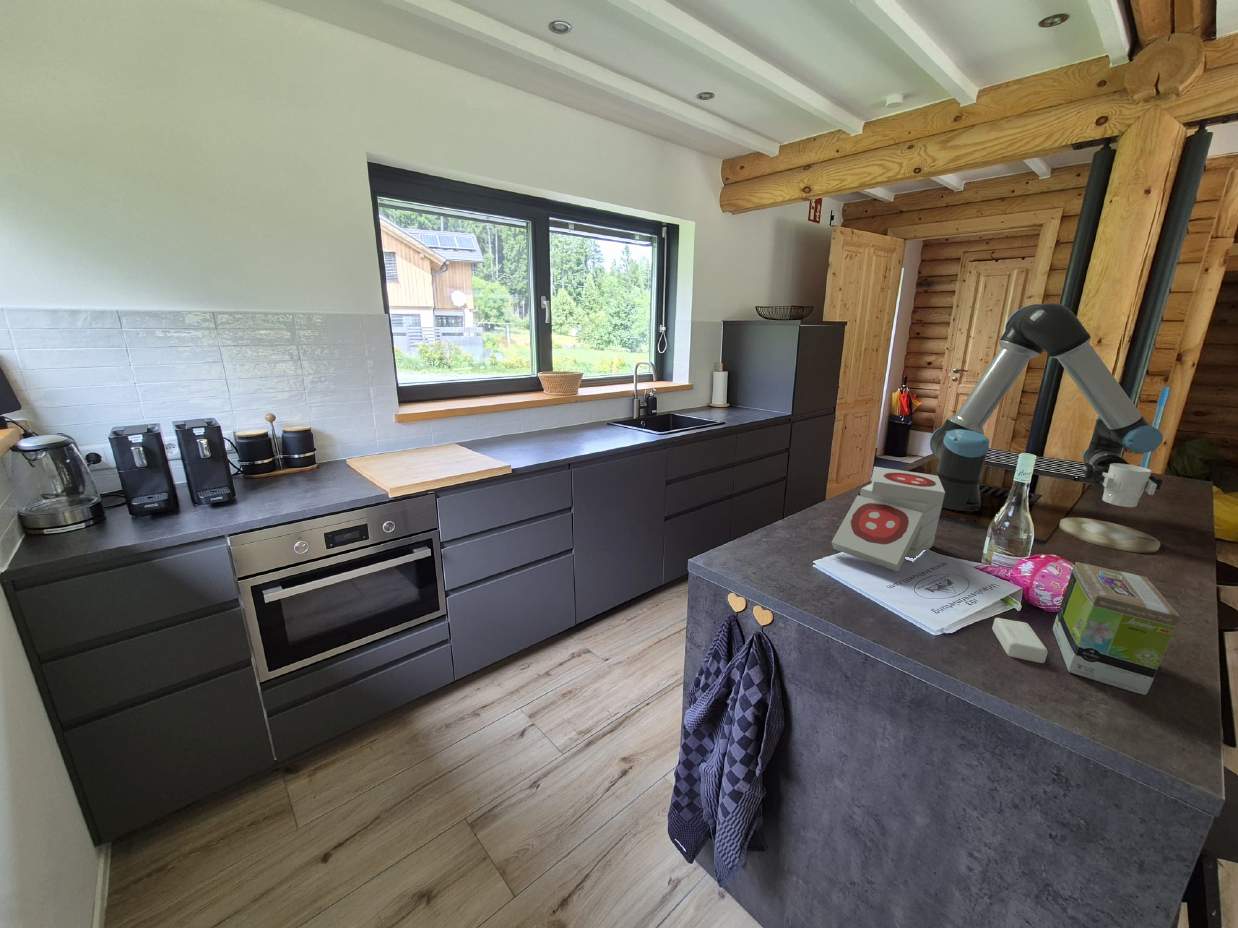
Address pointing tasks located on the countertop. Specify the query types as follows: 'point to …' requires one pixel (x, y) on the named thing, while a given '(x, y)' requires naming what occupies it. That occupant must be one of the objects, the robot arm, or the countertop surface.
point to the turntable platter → (1109, 535)
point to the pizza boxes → (892, 518)
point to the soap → (1019, 640)
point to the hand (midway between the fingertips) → (1130, 486)
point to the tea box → (1114, 627)
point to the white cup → (1126, 484)
